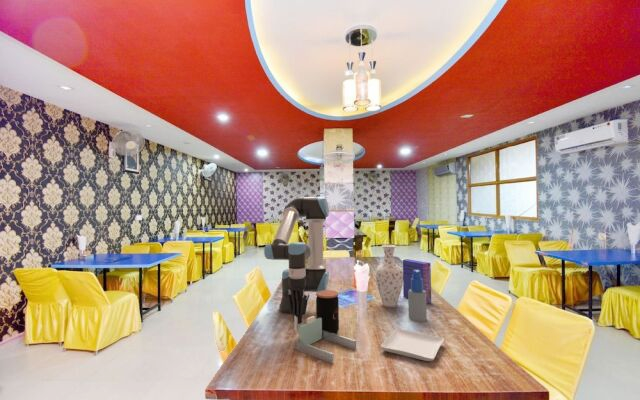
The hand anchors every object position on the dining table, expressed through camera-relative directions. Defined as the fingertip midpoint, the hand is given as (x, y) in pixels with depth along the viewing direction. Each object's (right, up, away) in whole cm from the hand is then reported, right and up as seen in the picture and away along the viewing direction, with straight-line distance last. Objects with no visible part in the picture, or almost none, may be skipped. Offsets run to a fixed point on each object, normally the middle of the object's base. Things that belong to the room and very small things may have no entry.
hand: (297, 329), depth 143 cm
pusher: (+6, -3, -5) cm, 9 cm away
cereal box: (+70, -4, +56) cm, 90 cm away
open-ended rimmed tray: (+12, -4, -10) cm, 16 cm away
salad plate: (+48, -4, -11) cm, 50 cm away
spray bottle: (+61, -4, +23) cm, 65 cm away
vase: (+51, -4, +46) cm, 69 cm away
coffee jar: (+14, -4, +8) cm, 16 cm away
